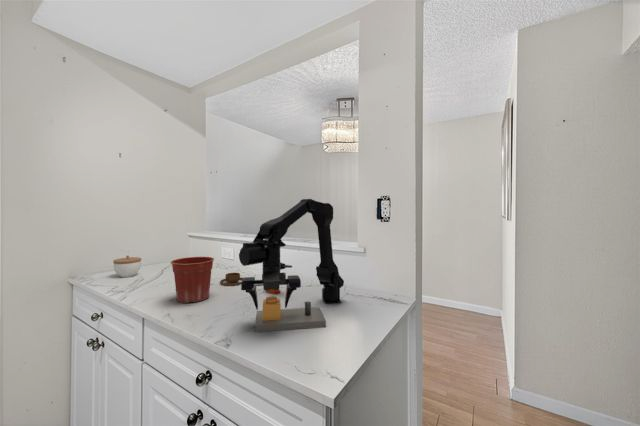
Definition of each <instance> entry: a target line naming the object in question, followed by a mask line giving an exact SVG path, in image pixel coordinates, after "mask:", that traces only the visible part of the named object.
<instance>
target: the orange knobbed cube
mask: <svg viewBox="0 0 640 426" xmlns="http://www.w3.org/2000/svg"><path fill="white" fill-rule="evenodd" d="M281 304H282V303H281V298H278V297H277V296H275V295H270V296H267V297H266V298H263V299H262V311H263V321H265V320H280V319H281Z"/></svg>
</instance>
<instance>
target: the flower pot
mask: <svg viewBox="0 0 640 426" xmlns="http://www.w3.org/2000/svg"><path fill="white" fill-rule="evenodd" d="M214 260H215V258H214V257H211V256H192V257H190V256H189V257H182V258H177V259H176V258H175V259H173V260H171V261H170V264H171V267H172V272H173V275H174V284H175V285H174V286H175V293H176V294H175V295H176V301H177V302H178V303H182V304H189V303H191V302H193V303H199V302H202V301H205V300H207V299H208V298H210V297H209V296H210V288H211V280H212V279H211V277H212V269H213V265H214Z"/></svg>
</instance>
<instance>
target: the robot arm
mask: <svg viewBox="0 0 640 426" xmlns="http://www.w3.org/2000/svg"><path fill="white" fill-rule="evenodd" d="M307 213H308V214H311V216H312V221H313V222H314V223H315V225H316V227H317V237H318V246H319V247H318V248H319V256H320V262H319V265H317V266H315V270H316V277H317V280H318V281H319V284H320V285H322V287H323V288H321V299H322V301H323V302H324V304H335V303H336V304H337V303H342V300H341V288H342V287H344V284H345V281H344V279H343V278H342V276H341V275H340V272H339V267H338V265H336V262H335V261H334V255H333V243H332V234H331V224H332V222H333V219H334V206H333V205H332V204H331V203H330V202H322V201H321V202H320V201H318V200H315V199H312V198H302V199H300V201H299V202H297V204H295V205H294V206H292V207H290V209H288V210H287V211H286V212H284V213H283V214H281V215H280V216H279V217H277V218H273V219H269V220H268V221H265V222H263V223H262V224H260V226H259V230H258V232H257V234H256V235H255V238H254V239H253V241H252V242H242V247H241V248H240V249H239V253H238V258H239V259H238V260H239V262H240V264H241V265H242V266H244V267H246V266H252V265H258V264H262V274H261V279H256V278H255V276H248V277H245V276H244V277H242V278H243V280H242V281H240V282H241V284H240V288H241V289H240V290H241V291H245V293H248V294H250V296H251V299H252V301H253V303H254V306H255V310H256V311H259V299H258V291H257V287H262V286H263V288H262V289H263V290H264V291H266V290H278V289H279V290H280V286H285V285H286V288H285V296H284V297H285V299H284V309H288V308H287V306H288V304H289V300H290V297H291V296H292V293H293V292H294V291H297V288H298V289H299V288H301V287H302V286H301V283H302V280H301V277H300V276H299V275H298V274H297V275H296V274H295V275H287V273H286V272H281V270H280V262H281V247H286V243H284V241H283V240H282V239H283V237H285V235H286V234H287V232H288V230H289V228H290V227H291V226H292V225H294V223H296V222H297V221H299V220H300V219H301V218H302V217H304V216H305V215H307ZM286 275H287V277H286Z"/></svg>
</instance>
